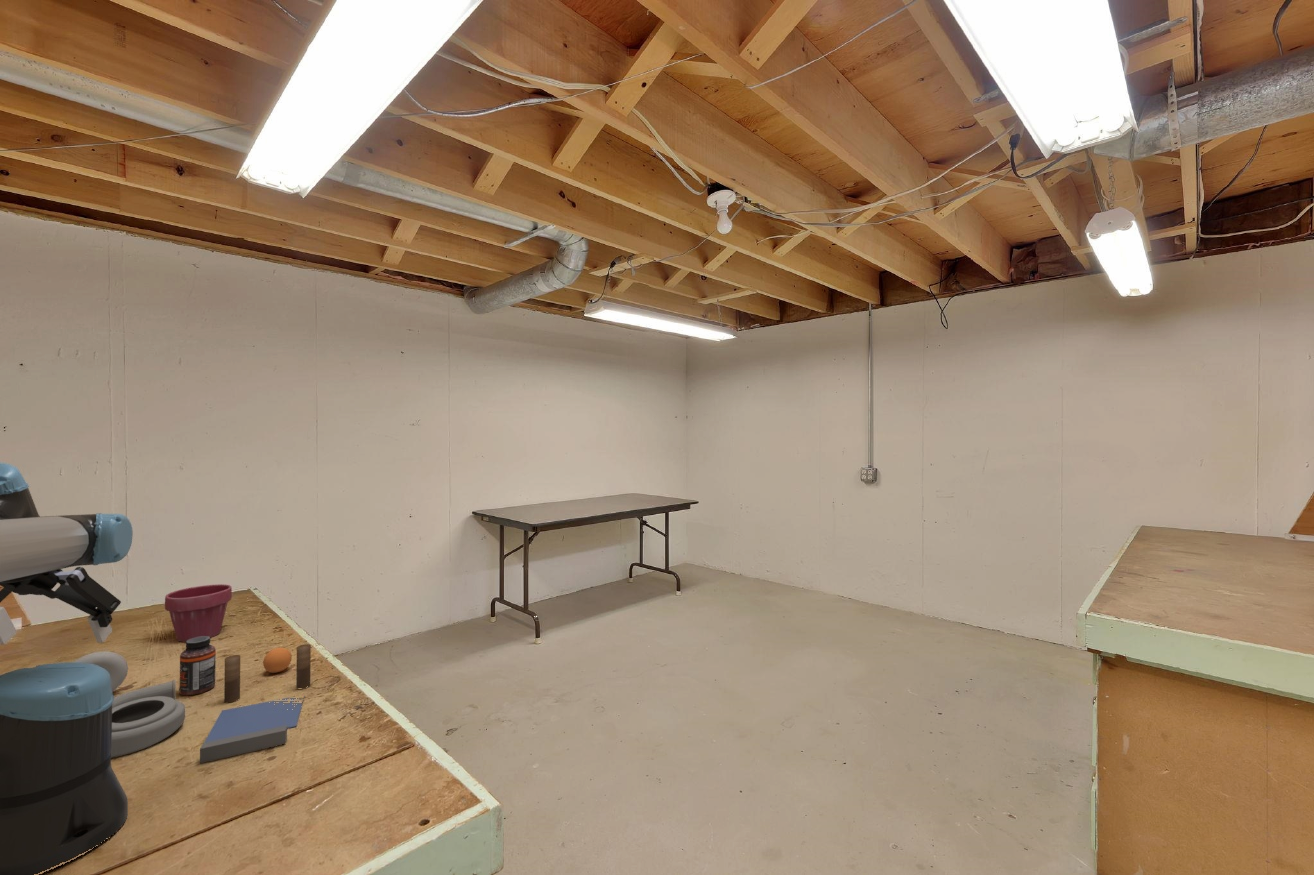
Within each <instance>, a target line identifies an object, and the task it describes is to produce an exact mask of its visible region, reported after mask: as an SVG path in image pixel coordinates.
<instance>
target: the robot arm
mask: <svg viewBox="0 0 1314 875" xmlns="http://www.w3.org/2000/svg"><path fill="white" fill-rule="evenodd" d="M29 487H30V486H29V483H28V482H27V481H26V480H25V478H24V477H23V475H22V473H21V472H20V470H19V469H18V468H17V467H16V466H15V465H12V464H10V463H5V462H0V587H2V588H1V589H0V603H2V602H3V601H4V600H5V599H6V598H7V597H8V596H9V595H10V594H11V593H15V594H18V596H27V595H35V596H44V597H47V598H49V599H51V600H55V599H58V600H60V601H61V602H63V603H66V604H67V605H69V606H72V607H74V608H76V609H78V610H80V611H81V612H84V613H85V614H88V615H89V616H88V617H87V622H88V624H89V626H90V628H91V630H92V633H93V635H94V637H95V640H96V642H97V643H98V644H99V643H100V644H103V643H104V642H105V641H106V639H108V637H109V636H110V634H111V633H112V632H113V629H112V626H111V622H112V621H113V616H112V614H113V613H114V612H116V609H117V608H118V607H119V606H120V605H121V604H122V601H121V600H120V599H119V598H117V597H116V596H115V595H114V594H112V593H111V592H110V591H109V590H107V589H106V588H104V586H102V585H101V584H100V583H99V582H97V581H96V580H94V579H93V578H92V577H91V576H89V574H88V572H87V571H86V569H85V568H84V567H82V566H98V565H102V564H103V565H104V564H112V563H114V564H115V563H118V562H120V561H123V559H124V558H125V557H126V556H127V555H128V553H129V551H130V550H131V546H132V544H133V537H134V536H133V535H134V534H133V533H134V532H133V526H132V522H131V521H130V519H129V518H128V517H127V516H126V515H124V514H123V513H101V512H100V513H98V512H97V513H92V514H91V513H90V514H89V513H88V514H64V515H62V514H61V515H49V516H47V515H45V516H40V514H39V512H38V510H37V507H36V504H35V501H34V499H33V496H32V494H31V491H30V489H29ZM71 567H75V568H74V569H73V570H65V571H64V570H63V569H67V568H71ZM57 584H58V585H59V586H58V587H57V588H56V589H55V590H53V588H55V587H56V585H57ZM17 633H18V631H17V629H16V627H15V626H14V623H13V622H12V619H11V617H10V616H9V614H8V612H7V610H6V608H5V606H0V646H4V645H6V644H7V643H8V642H10V640H12V638H13V637H14V636H15V635H16V634H17ZM113 693H114V692H112V688H111V677H110V674H109V672H108V671H107V670H105V669H104V668H102V667H100V666H98V665H95V664H90V663H80V662H74V661H73V662H54V663H44V664H38V665H36V666H35V667H22V668H19V669H14V670H10V671H8V672H5V673H2V674H0V875H34V874H38V873H40V872H42V871H45V870H47V869H50V868H51V867H54V866H56V865H59V864H60V863H62V862H66V861H68V860H70V859H72V858H74V857H76V856H78V855H79V854H82V853H84V852H86V851H88V850H89V849H92V848H93V847H95V846H96V845H99V844H100V843H101V842H103V841H104V840H106V838H109V837H110V836H111V835H112V836H113V835H115V834H116V833H117V832H118V831H119V830H120V829H121V828H122V826H123V825H124V823H125V822H126V821H127V818H128V813H129V812H128V811H129V809H128V808H129V807H128V806H129V801H128V796H127V794H126V792H125V790H124V788H123V787H122V785H121V783H120V781H119V778H118V777H117V775H116V773H115V771H114V770H113V767H112V758H111V737H112V704H113V699H114V697H115V696H114V694H113ZM116 831H117V832H116ZM114 833H115V834H114ZM112 836H111V837H112ZM111 837H110V838H111ZM110 838H109V839H110ZM106 841H107V840H106ZM103 843H104V842H103ZM100 845H101V844H100ZM100 845H99V846H100Z"/></svg>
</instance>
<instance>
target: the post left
mask: <svg viewBox="0 0 1314 875" xmlns="http://www.w3.org/2000/svg"><path fill="white" fill-rule="evenodd" d="M223 683H224V686H223V687H224V688H223V690H224V692H223V693H224V694H223V695H224V698H223V700H224V701H223V702H224V703H225V702H231V703H234V702H233V701H235V702H237V701H239V700H240V699H241V655H240V654H234V655H233V654H232V655H229V656H227V657H225V658H224V682H223ZM238 699H239V700H238ZM236 700H237V701H236Z"/></svg>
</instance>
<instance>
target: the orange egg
mask: <svg viewBox="0 0 1314 875" xmlns="http://www.w3.org/2000/svg"><path fill="white" fill-rule="evenodd" d="M292 658H293V657H292V653H291V651H290V650H289V649H287V648H284V647H276V648H273V649H271V650H270V651H268V652H267V653H266V655H265V656H264V658H263V661H262V665H263V668H264V669H265V670H266V671H267V672H269V673H273V674H274V673H280V672H282V671H284V670H286V669H287V668H288V667H289V666H290V664H291V663H292V662H291V661H292V660H293V659H292Z"/></svg>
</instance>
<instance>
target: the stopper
mask: <svg viewBox="0 0 1314 875" xmlns="http://www.w3.org/2000/svg"><path fill="white" fill-rule="evenodd" d="M287 740H288V729H287V725H285V726H281V727H276V728H271V729H267V730H262V731H257V732H252V733H248V734H243V735H238V736H233V737H229V738H224V739H219V740H215V741H210V742H205V741H204V742H205V743H204V742H203V743H202V744H201V746H200V748H199V764H203V763H208V762H212V761H217V760H221V759H222V760H223V759H226V758H231V757H234V756H239V755H244V754H249V753H253V752H257V751H261V749H262V750H266V749H269V748H268V747H271V748H274V746H275V747H277V746H276V745H280V746H283V745H282V744H284V745H286V744H285V743H287ZM265 748H266V749H265Z"/></svg>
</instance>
